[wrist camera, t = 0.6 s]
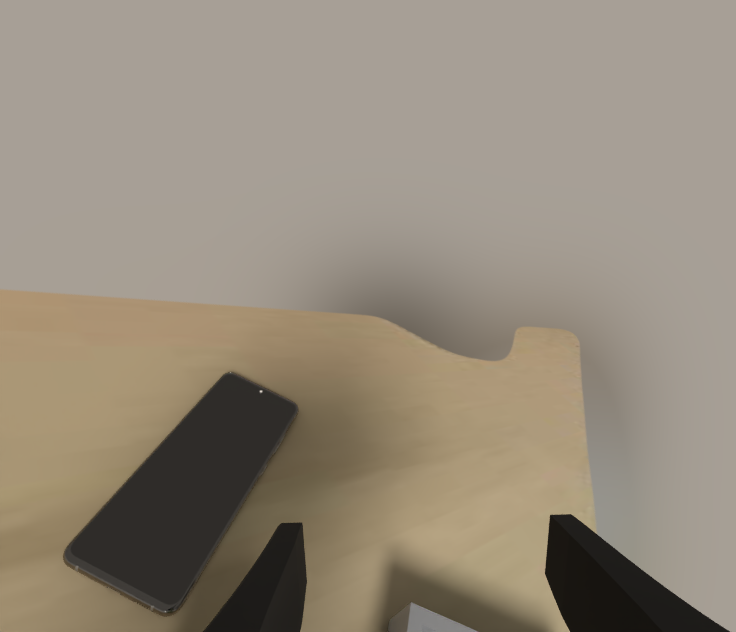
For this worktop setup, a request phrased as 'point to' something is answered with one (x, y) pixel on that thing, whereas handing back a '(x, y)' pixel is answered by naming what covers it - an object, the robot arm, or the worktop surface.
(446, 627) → the grey bin
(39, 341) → the worktop surface
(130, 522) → the smartphone
